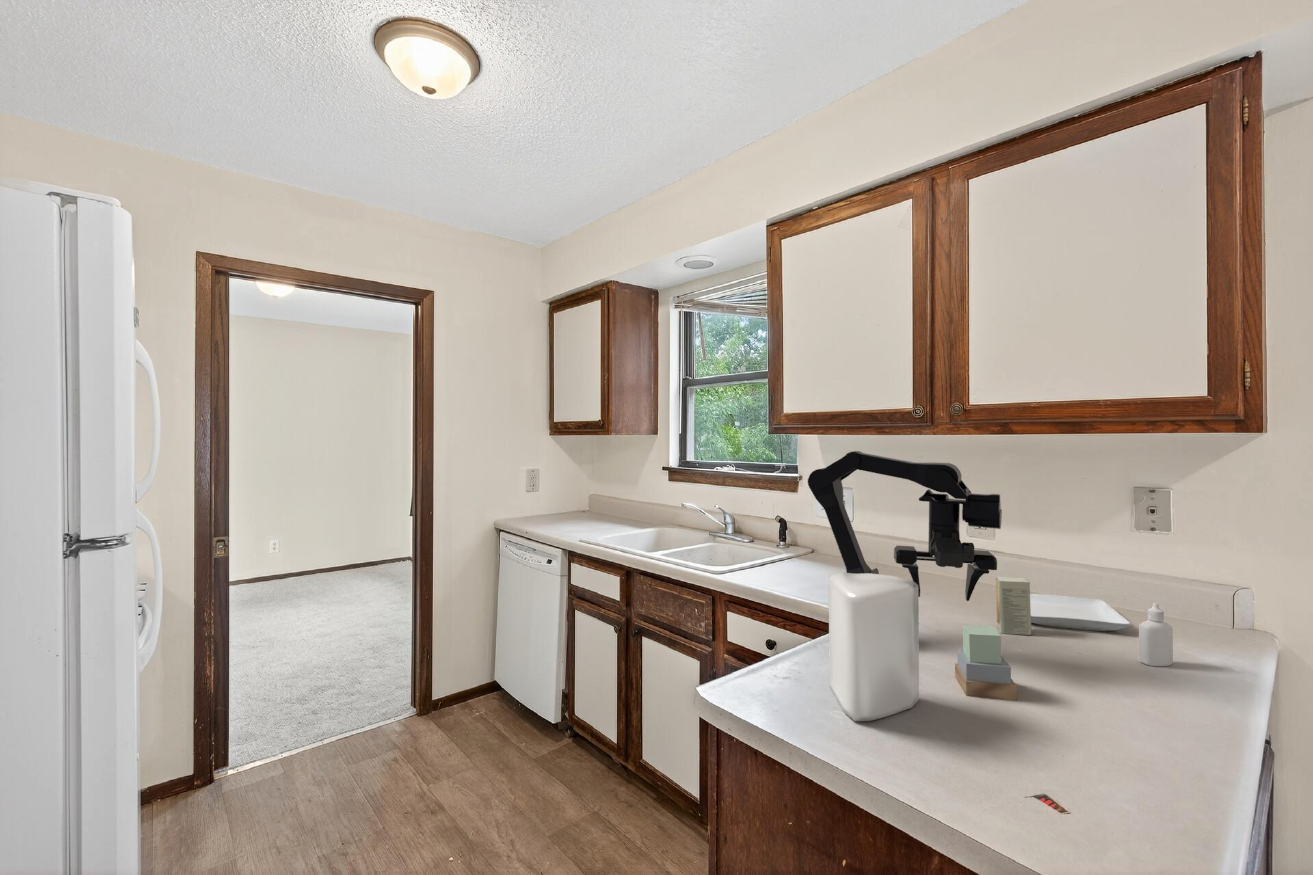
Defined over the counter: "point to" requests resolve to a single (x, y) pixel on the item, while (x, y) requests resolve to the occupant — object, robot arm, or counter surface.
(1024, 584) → the skincare box
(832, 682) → the white triangular prism
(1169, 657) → the eye dropper bottle
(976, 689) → the tower base
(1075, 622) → the salad plate
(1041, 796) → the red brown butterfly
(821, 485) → the robot arm
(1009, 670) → the blue-grey square block
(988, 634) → the stack block
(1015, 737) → the counter surface
